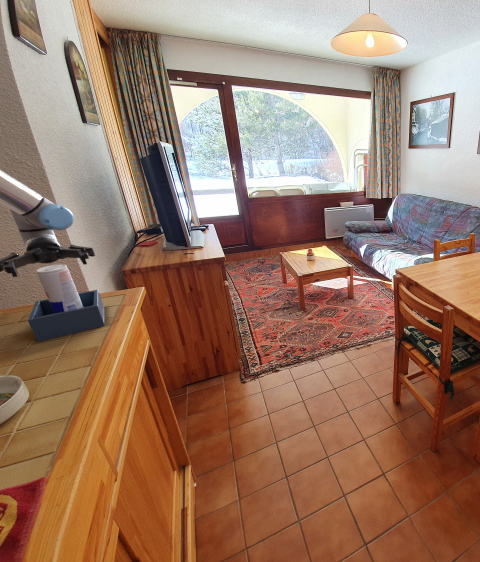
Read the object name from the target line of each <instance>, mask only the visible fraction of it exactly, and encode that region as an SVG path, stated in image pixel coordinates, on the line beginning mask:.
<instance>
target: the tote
mask: <svg viewBox="0 0 480 562" xmlns="http://www.w3.org/2000/svg"><path fill="white" fill-rule="evenodd" d="M78 295H79V297H80V300H81V302H82V305H83V307H84V308H79V309H74V310H69V311H65V312H60V313H55V314H54V311H53V309H52V307H51V304H50V302H49V300H48V298H47V299H40V300H36V301H35V302H34V305H33V307H32V308H31V312H30V314H29V315H28V318H27V322H28V324H29V327H30V328H31V331H32V332H33V335H34V337H35V339H36V342H38V343H39V342H43V341H47V340H51V339H56V338H59V337H65V336H68V335H71V334H76V333H79V332H84V331H88V330H93V329H96V328H100V327H105V326H106V324H105V323H106V321H105V319H106V318H105V316H106V315H105V314H106V313H105V312H106V311H105V310H106V309H105V305H104V302H103V299H102V297H101V294H100V291H99V289H94V290H89V291H82V292H78Z"/></svg>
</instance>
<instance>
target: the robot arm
mask: <svg viewBox="0 0 480 562" xmlns="http://www.w3.org/2000/svg"><path fill="white" fill-rule="evenodd" d="M0 205H2V206H4V207H6V208H7V209H8V210H9V211H10V213H11V216H12V218H13V220H14V222H15V224H16V227H17V229H18V231H19V234H20V236H21V239H22V242H23V244H24V246H25V251H26V252H24V253H23V254H19V253H17V252H11V253H9V255H6V256H4V257H2V258H0V272H3V271H4V272H5V273H7V274H10V275H12V277H13V278H18V270H17V269H19V268H21V267H25V266H27V265H34V264H35V265H36V264H37V263H39V264H52V263H55V262H58V260H65V259H79V261H80V262H81V264H82V265H88V263H87V260H88V259H90V257H96V253H95V250H94V248H93V247H88V246H82V245H81V246H80V245H76V244H69V245H68V247H63V246H61V244H60V243H59V241H58V239H57V237H56V234H55V232H54V231H64V230H67V229H69V228H70V227H72V225H73V224H74V220H75V218H74V214H73V212H72V211H71V210H70V209H68V208H67V207H65V206H62V205H60V204H57V203H54V202H52V201H51V200H49V199H48V198H46V197H44V196H43V195H41V194H39V193H38V192H37V191H35V190H33V189H31V188H30V187H29V186H27V185H25V184H24V183H22V182H20V181H19V180H17V179H16V178H14V177H12V175H9V174H8V173H6V172H5V171H3V170H1V169H0Z"/></svg>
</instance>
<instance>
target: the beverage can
mask: <svg viewBox="0 0 480 562" xmlns="http://www.w3.org/2000/svg"><path fill="white" fill-rule="evenodd" d="M67 266H68V265H67V264H52V265H46V266H43V267H40V268H37V269H36V271H35V272H36V276H37V277H38V279H39V282H40V284H41V286H42V288H43V291H44V293H45V296H46V297H47V299H48V300H49V302H50V304H51V307H52V309H53V311H54V314H55V313H60V312H65V311H69V310H74V309H79V308H84V307H83V305H82V302H81V300H80V297H79V295H78V293H79V292H78V289H77V287H76V285H75V282H74V279H73V277H72V274H71V272H70V270H69V267H67Z"/></svg>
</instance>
